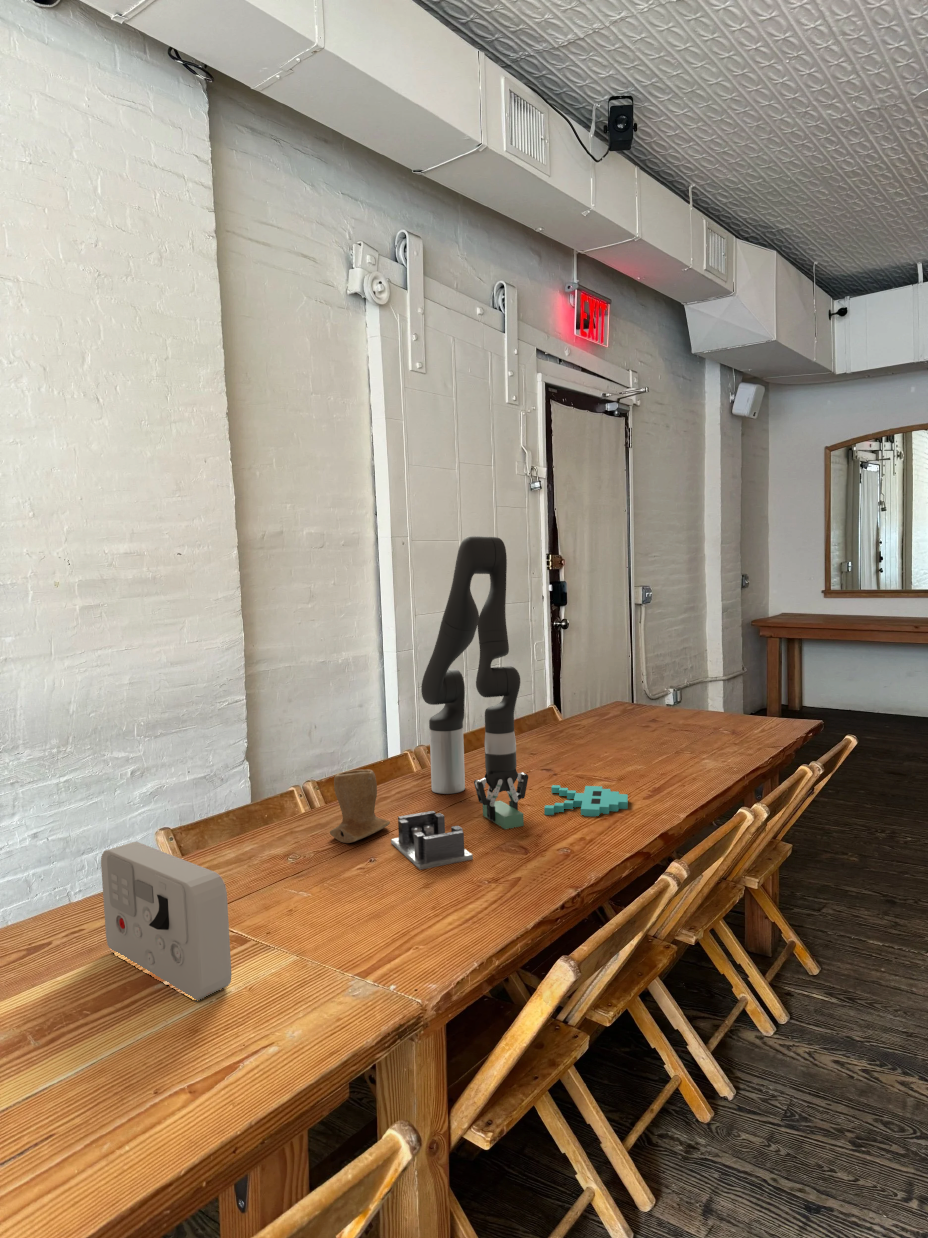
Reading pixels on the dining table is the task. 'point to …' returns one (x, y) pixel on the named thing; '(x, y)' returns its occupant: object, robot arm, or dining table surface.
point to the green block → (506, 815)
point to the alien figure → (588, 801)
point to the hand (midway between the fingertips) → (502, 818)
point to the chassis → (430, 840)
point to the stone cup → (357, 805)
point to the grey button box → (167, 917)
